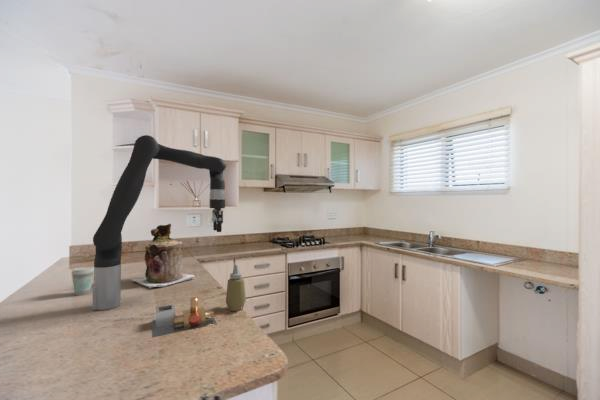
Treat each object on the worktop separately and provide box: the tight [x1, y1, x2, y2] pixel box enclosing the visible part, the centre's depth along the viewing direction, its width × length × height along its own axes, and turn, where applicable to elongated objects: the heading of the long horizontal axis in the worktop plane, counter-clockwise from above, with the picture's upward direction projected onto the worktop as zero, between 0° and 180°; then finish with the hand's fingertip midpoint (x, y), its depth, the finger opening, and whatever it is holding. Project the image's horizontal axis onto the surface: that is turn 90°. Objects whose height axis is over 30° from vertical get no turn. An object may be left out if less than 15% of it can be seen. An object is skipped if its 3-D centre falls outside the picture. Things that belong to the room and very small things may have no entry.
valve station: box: [151, 296, 218, 338], centre depth 97 cm, size 20×14×10 cm
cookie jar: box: [131, 223, 196, 289], centre depth 152 cm, size 25×25×32 cm
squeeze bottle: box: [225, 264, 247, 312], centre depth 111 cm, size 8×8×18 cm
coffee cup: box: [71, 266, 94, 296], centre depth 130 cm, size 9×9×12 cm
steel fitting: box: [155, 303, 176, 328], centre depth 96 cm, size 6×6×5 cm
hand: (217, 231), depth 135 cm, fingers open, 8 cm apart
